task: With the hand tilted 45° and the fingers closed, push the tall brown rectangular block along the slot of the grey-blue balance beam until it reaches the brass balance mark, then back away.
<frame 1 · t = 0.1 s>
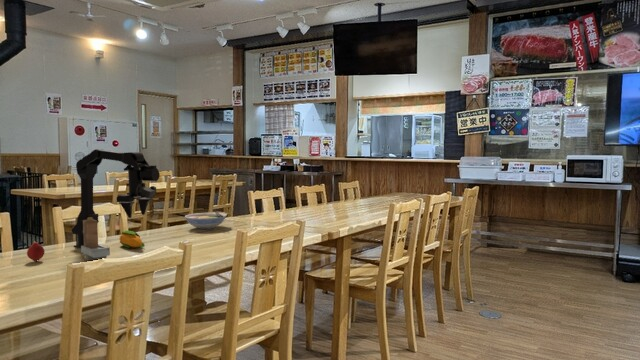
hand: (136, 216, 201), 15 cm above the table, tool pointing down, fingers open, 9 cm apart
brown rectangular block: (90, 232, 187), point 10 cm above the table, slide at 0.0 cm
ramen bowl: (206, 228, 255), on the table
red oval piece: (36, 262, 180), on the table
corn: (133, 248, 205), on the table
beam: (95, 258, 184), on the table
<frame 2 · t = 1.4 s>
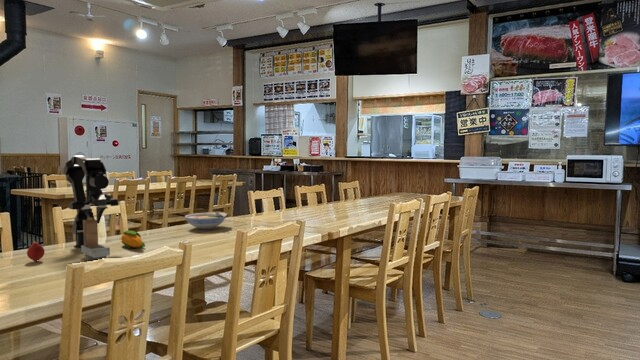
hand: (94, 223, 198), 12 cm above the table, tool pointing down, fingers closed
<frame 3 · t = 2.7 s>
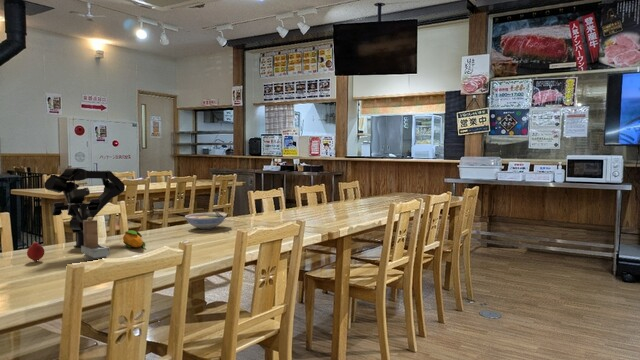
hand: (82, 221, 194), 13 cm above the table, tool tilted 45°, fingers closed
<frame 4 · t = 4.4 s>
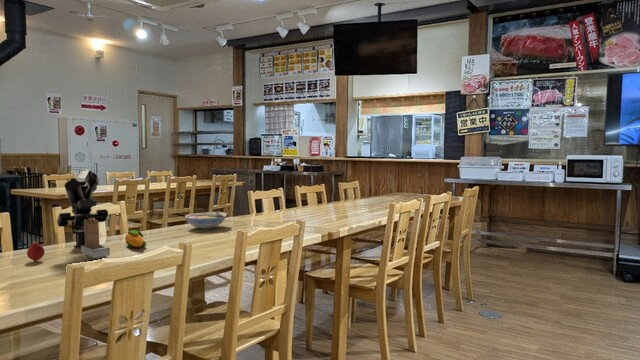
hand: (89, 233, 188), 10 cm above the table, tool tilted 45°, fingers closed, pressing on brown rectangular block
brown rectangular block: (91, 232, 186), point 10 cm above the table, slide at 1.3 cm, touching gripper
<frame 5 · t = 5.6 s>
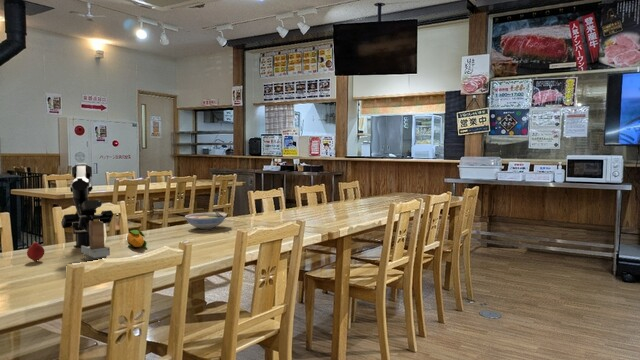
hand: (93, 234, 184), 10 cm above the table, tool tilted 45°, fingers closed, pressing on brown rectangular block
brown rectangular block: (96, 234, 182), point 10 cm above the table, slide at 6.7 cm, touching gripper
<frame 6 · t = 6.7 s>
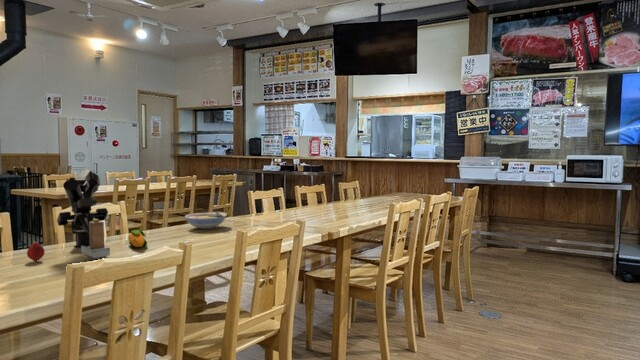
hand: (89, 232, 189), 10 cm above the table, tool tilted 45°, fingers closed
brown rectangular block: (96, 234, 182), point 10 cm above the table, slide at 6.7 cm
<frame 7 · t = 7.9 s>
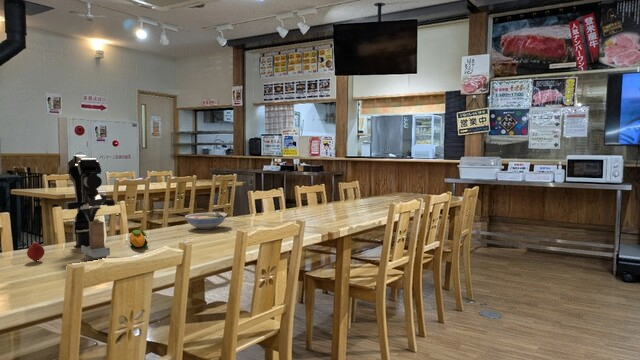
hand: (91, 224, 196), 12 cm above the table, tool pointing down, fingers closed
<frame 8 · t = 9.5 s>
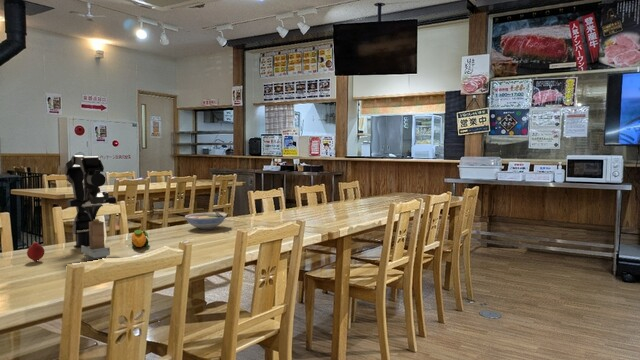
hand: (92, 221, 198), 13 cm above the table, tool pointing down, fingers closed
at the end: brown rectangular block slide at 6.7 cm; the gripper is holding nothing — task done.
